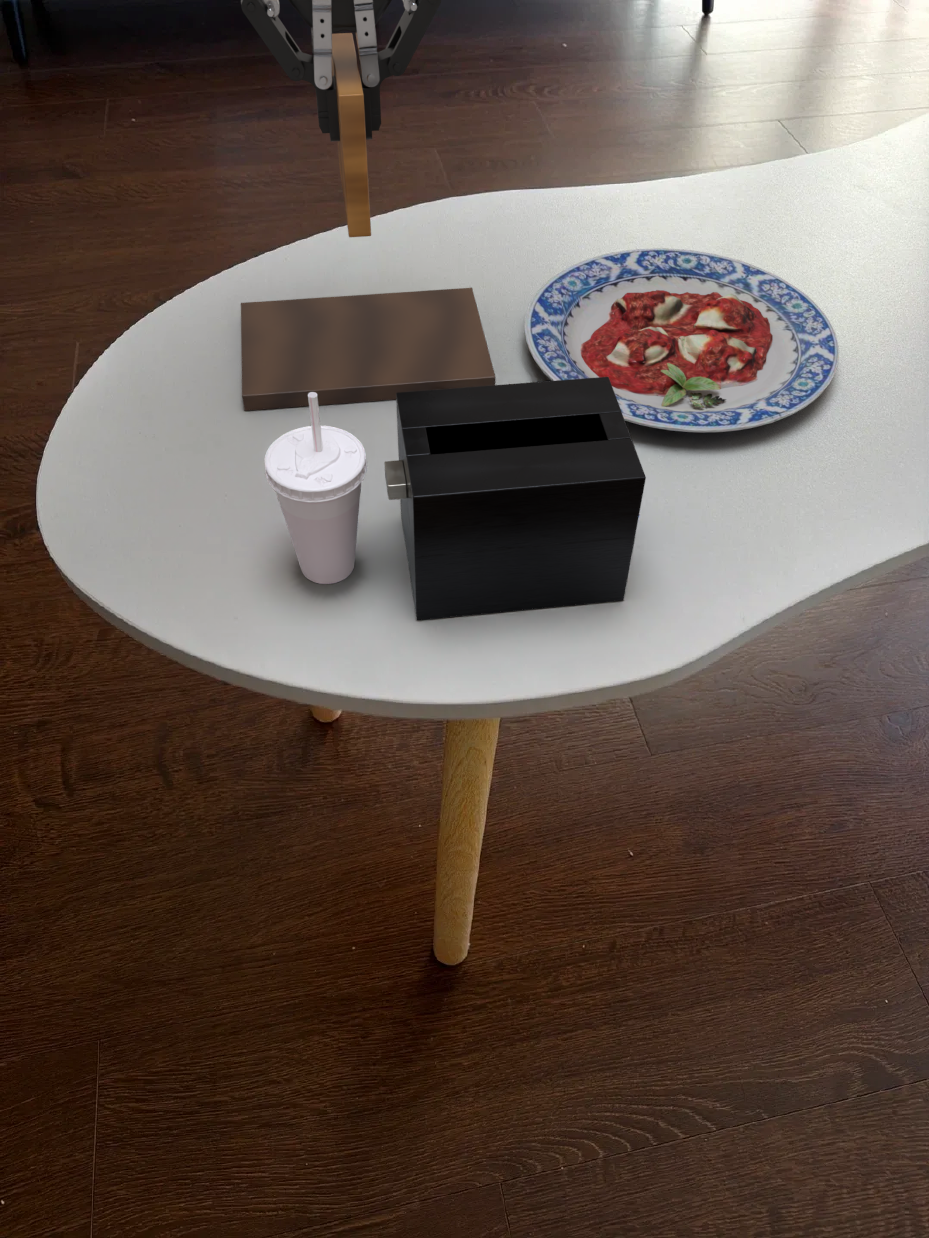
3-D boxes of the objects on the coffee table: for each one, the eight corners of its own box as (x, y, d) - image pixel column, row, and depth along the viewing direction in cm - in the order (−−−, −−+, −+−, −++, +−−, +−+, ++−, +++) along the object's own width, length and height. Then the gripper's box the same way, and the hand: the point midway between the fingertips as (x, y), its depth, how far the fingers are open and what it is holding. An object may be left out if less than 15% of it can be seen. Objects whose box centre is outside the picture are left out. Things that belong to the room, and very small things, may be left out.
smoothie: (388, 544, 77) (379, 380, 66) (352, 609, 73) (336, 445, 62) (304, 523, 78) (282, 358, 68) (264, 585, 74) (234, 420, 64)
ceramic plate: (559, 251, 103) (562, 221, 100) (840, 295, 98) (849, 265, 96) (488, 417, 86) (489, 386, 84) (821, 479, 82) (832, 449, 80)
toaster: (398, 622, 72) (392, 499, 64) (384, 518, 79) (377, 393, 70) (623, 600, 74) (646, 477, 65) (591, 500, 80) (608, 376, 72)
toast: (339, 170, 85) (329, 33, 77) (360, 169, 85) (352, 32, 77) (349, 238, 78) (338, 95, 71) (371, 236, 78) (363, 94, 71)
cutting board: (244, 411, 86) (241, 396, 85) (243, 317, 95) (240, 302, 94) (494, 392, 88) (495, 377, 87) (471, 302, 97) (472, 287, 96)
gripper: (438, -175, 68) (439, 107, 81) (213, -170, 66) (251, 117, 79) (455, -139, 63) (453, 156, 76) (212, -133, 61) (253, 166, 75)
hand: (350, 135), depth 78 cm, fingers closed on toast
